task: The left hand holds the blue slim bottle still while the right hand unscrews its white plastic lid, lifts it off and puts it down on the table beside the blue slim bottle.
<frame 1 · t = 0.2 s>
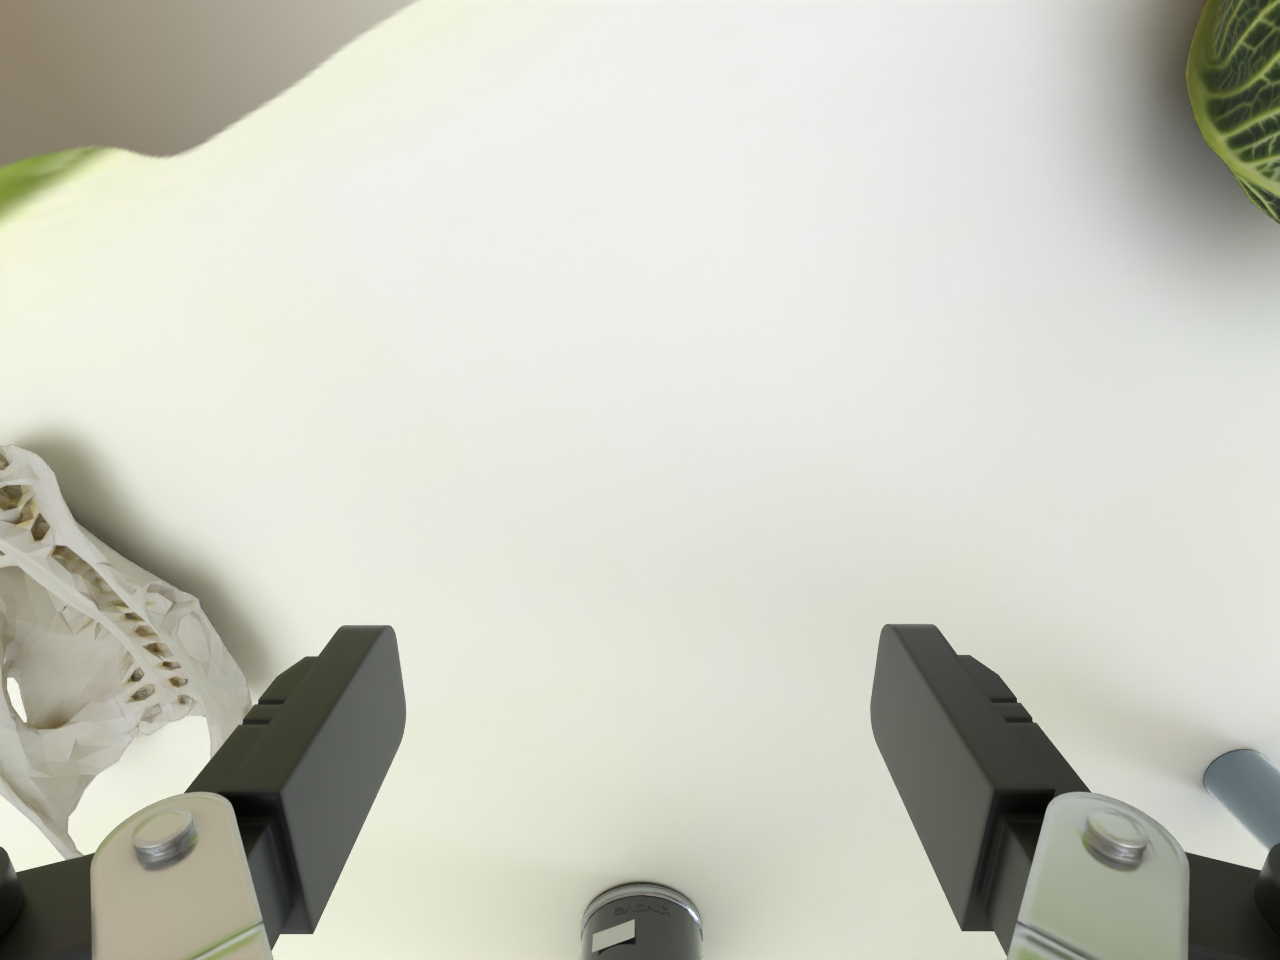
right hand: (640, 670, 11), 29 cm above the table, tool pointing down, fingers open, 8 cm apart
blue slim bottle: (1235, 773, 49), on the table
anatomical model: (132, 616, 45), on the table
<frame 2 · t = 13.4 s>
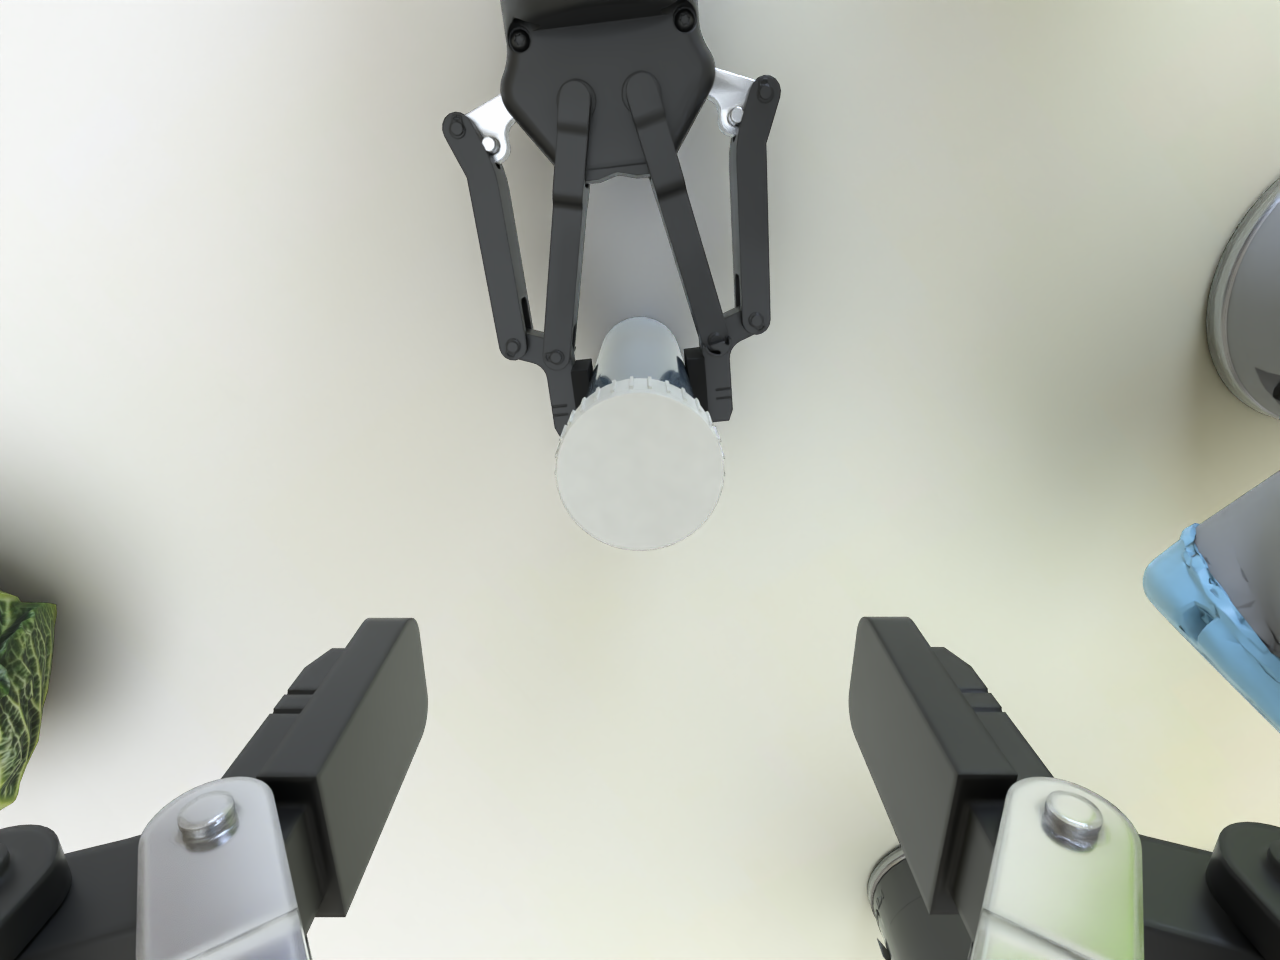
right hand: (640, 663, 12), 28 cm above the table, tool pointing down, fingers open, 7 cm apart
left hand: (651, 490, 34), fingers closed on blue slim bottle, 4 cm apart
blue slim bottle: (639, 357, 38), on the table, touching left hand
lid: (639, 471, 21), point 19 cm above the table, screwed on, not yet turned
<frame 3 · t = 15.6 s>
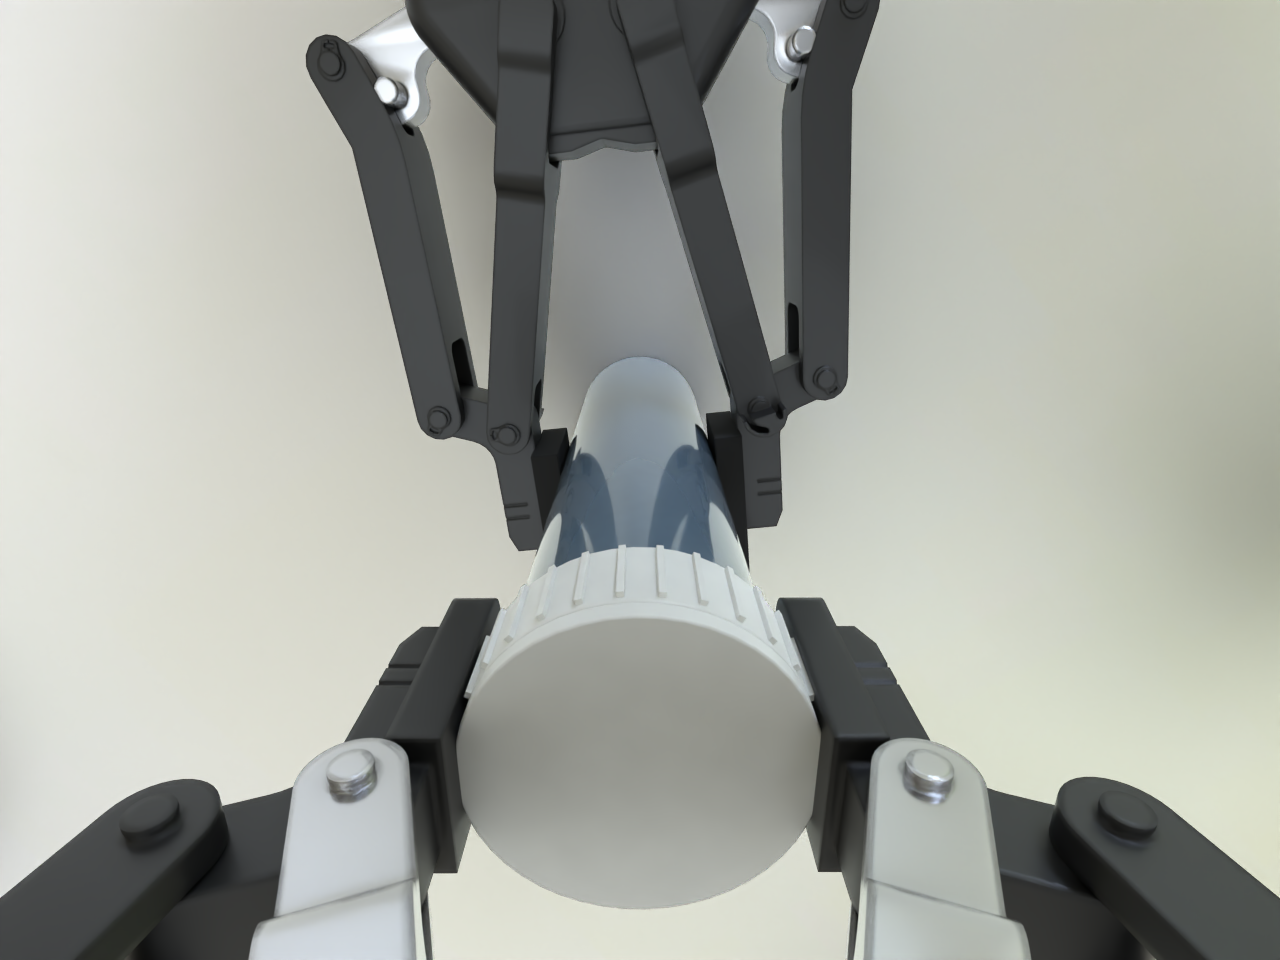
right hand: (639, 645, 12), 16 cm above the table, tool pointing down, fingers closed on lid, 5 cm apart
left hand: (656, 621, 23), fingers closed on blue slim bottle, 4 cm apart
blue slim bottle: (639, 412, 27), on the table, touching left hand
lid: (639, 758, 10), point 19 cm above the table, screwed on, not yet turned, touching right hand
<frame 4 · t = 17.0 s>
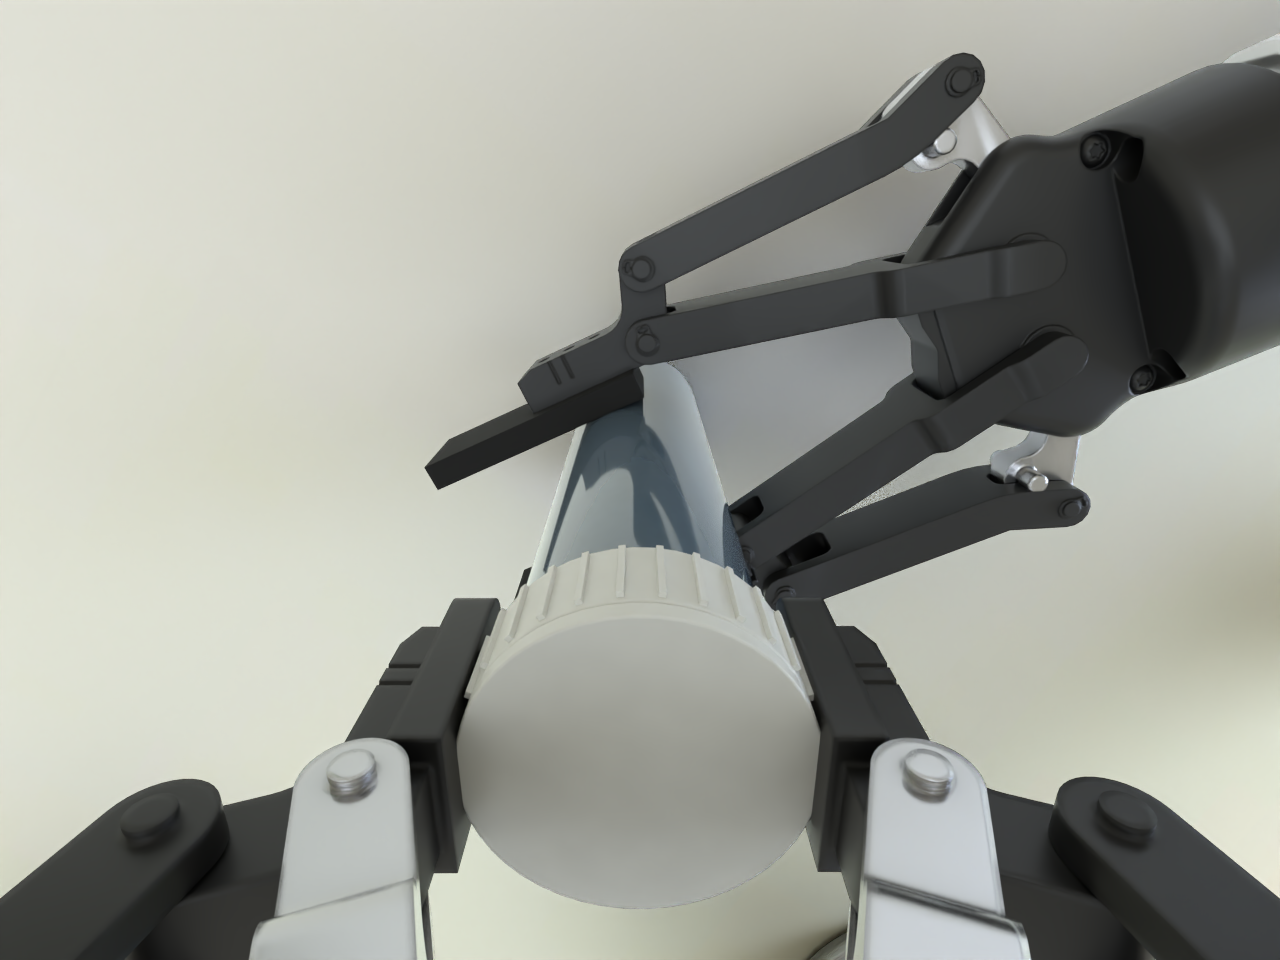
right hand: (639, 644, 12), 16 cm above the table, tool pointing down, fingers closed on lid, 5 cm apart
left hand: (486, 533, 22), fingers closed on blue slim bottle, 4 cm apart
blue slim bottle: (640, 411, 27), on the table, touching left hand
lid: (639, 757, 10), point 19 cm above the table, turned 71° so far, risen 0.2 cm, still on its thread, touching right hand
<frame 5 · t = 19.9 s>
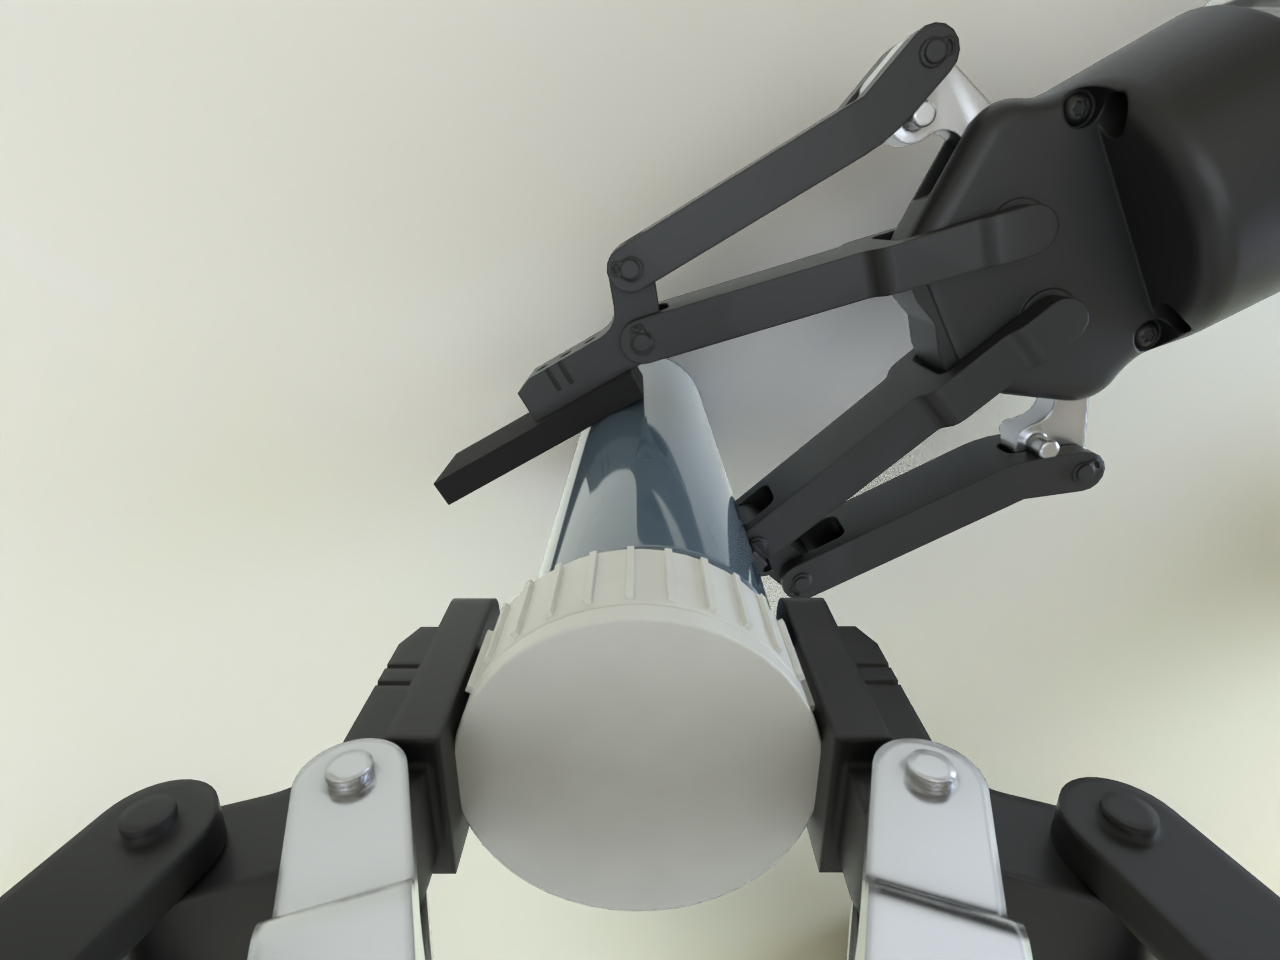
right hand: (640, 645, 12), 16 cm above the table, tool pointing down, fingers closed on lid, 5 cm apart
left hand: (501, 543, 22), fingers closed on blue slim bottle, 4 cm apart
blue slim bottle: (645, 410, 27), on the table, touching left hand
lid: (638, 760, 10), point 19 cm above the table, off its thread, touching right hand
when the right hand's fingers open (0 cm above the table, at t = 26.9 s): lid drops 2 cm, point 2 cm above the table.
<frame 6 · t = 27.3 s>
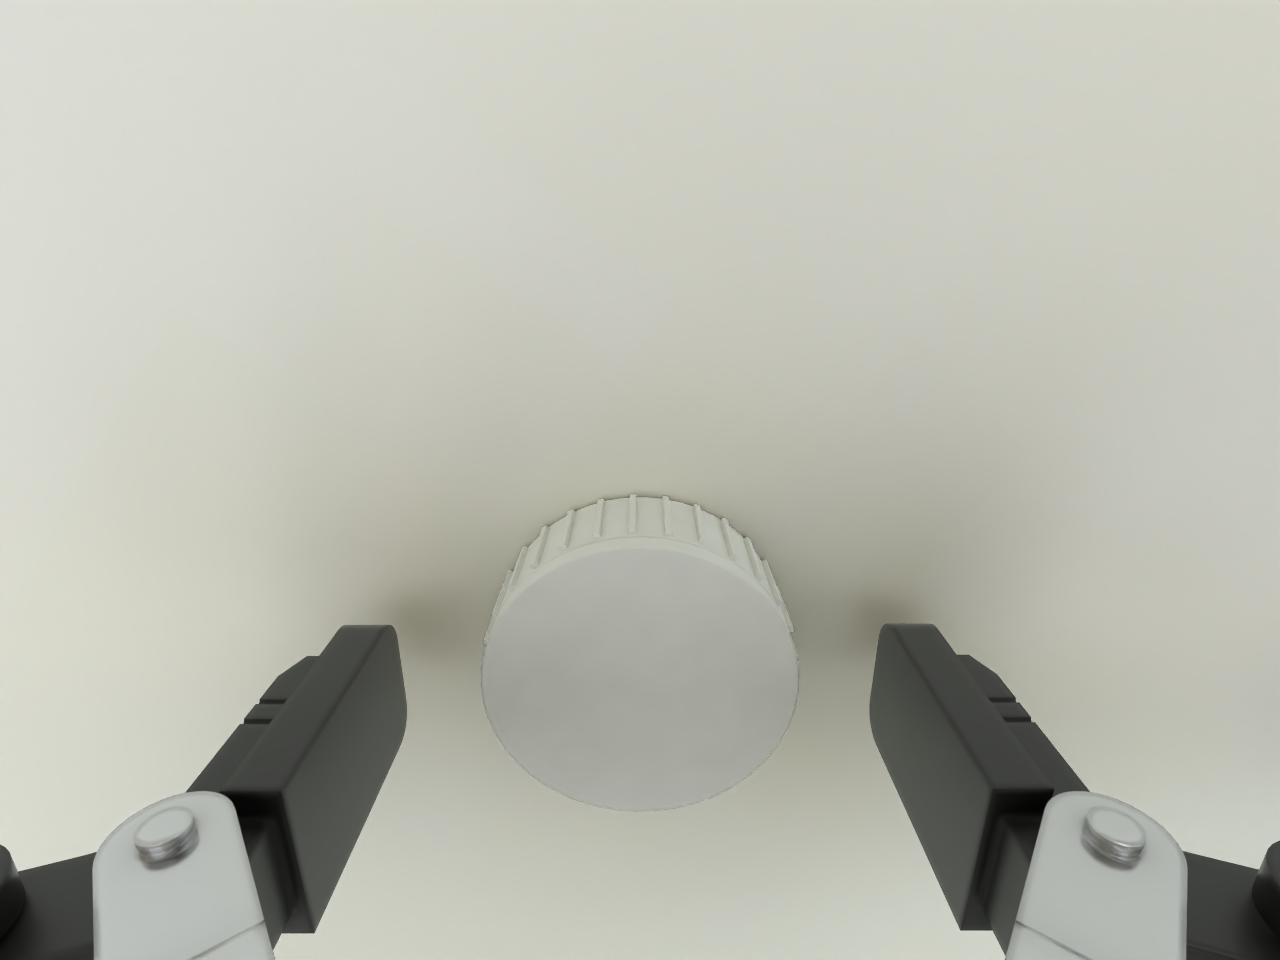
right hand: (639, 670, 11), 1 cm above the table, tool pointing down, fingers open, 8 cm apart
lid: (640, 676, 11), point 2 cm above the table, off its thread
when the left hand's fingers open (7 cm above the table, at t = 27.8 s): blue slim bottle stays where it is, on the table.
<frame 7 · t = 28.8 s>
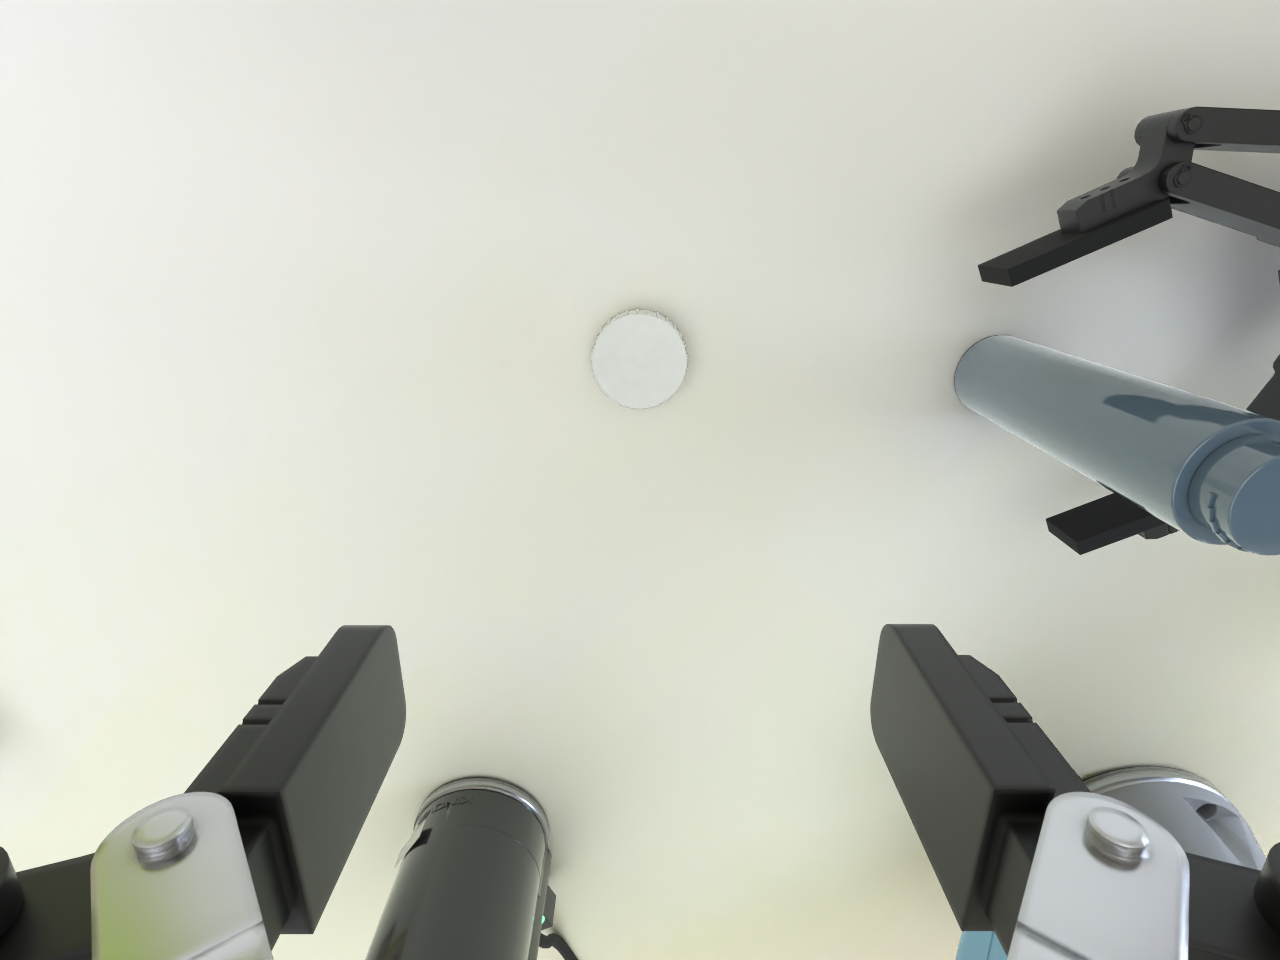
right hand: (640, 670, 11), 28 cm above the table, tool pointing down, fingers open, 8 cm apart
blue slim bottle: (994, 375, 38), on the table
lid: (639, 361, 36), point 2 cm above the table, off its thread
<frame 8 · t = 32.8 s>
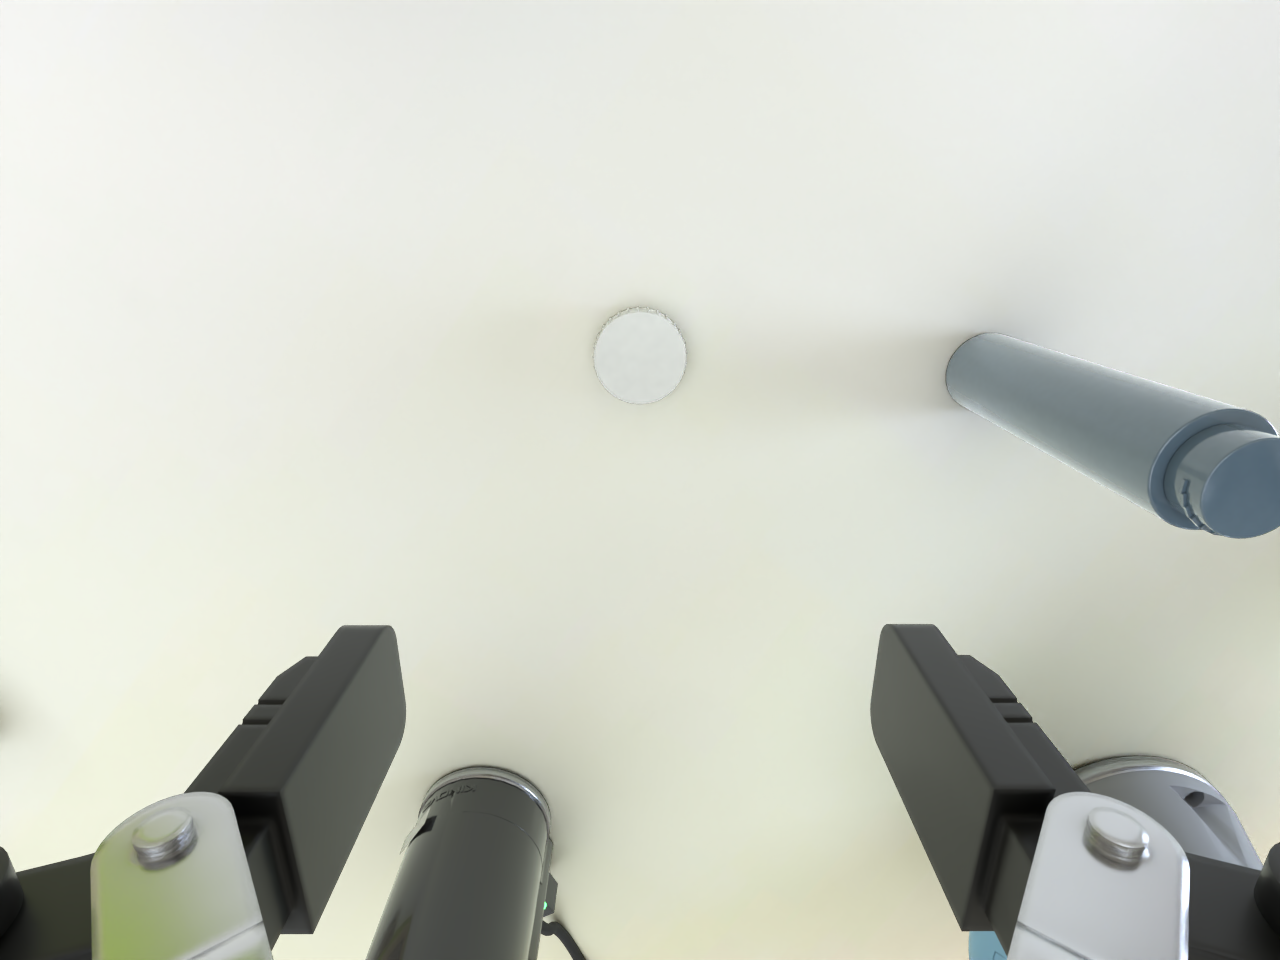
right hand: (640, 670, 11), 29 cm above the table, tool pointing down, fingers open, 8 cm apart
blue slim bottle: (984, 371, 39), on the table
lid: (640, 358, 37), point 2 cm above the table, off its thread
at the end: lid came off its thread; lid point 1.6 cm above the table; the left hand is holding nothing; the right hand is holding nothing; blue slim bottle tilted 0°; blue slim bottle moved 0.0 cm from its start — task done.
